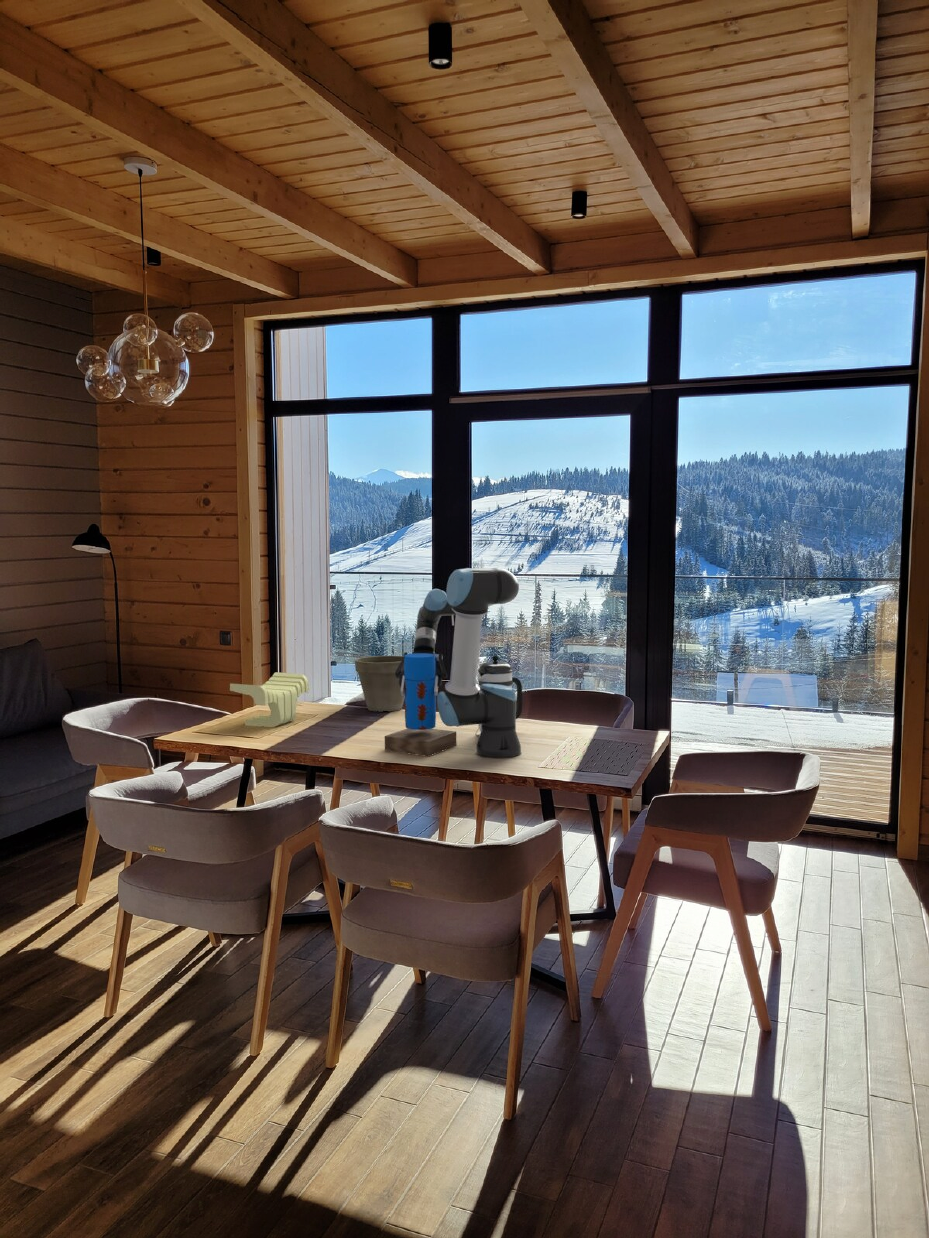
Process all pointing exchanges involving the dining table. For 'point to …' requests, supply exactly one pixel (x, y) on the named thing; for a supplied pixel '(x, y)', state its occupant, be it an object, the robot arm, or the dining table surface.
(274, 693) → the pale green ribbed part
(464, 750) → the dining table surface
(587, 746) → the dining table surface
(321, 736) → the dining table surface
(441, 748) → the block
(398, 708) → the plant pot
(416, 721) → the thermos
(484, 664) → the coffee press
